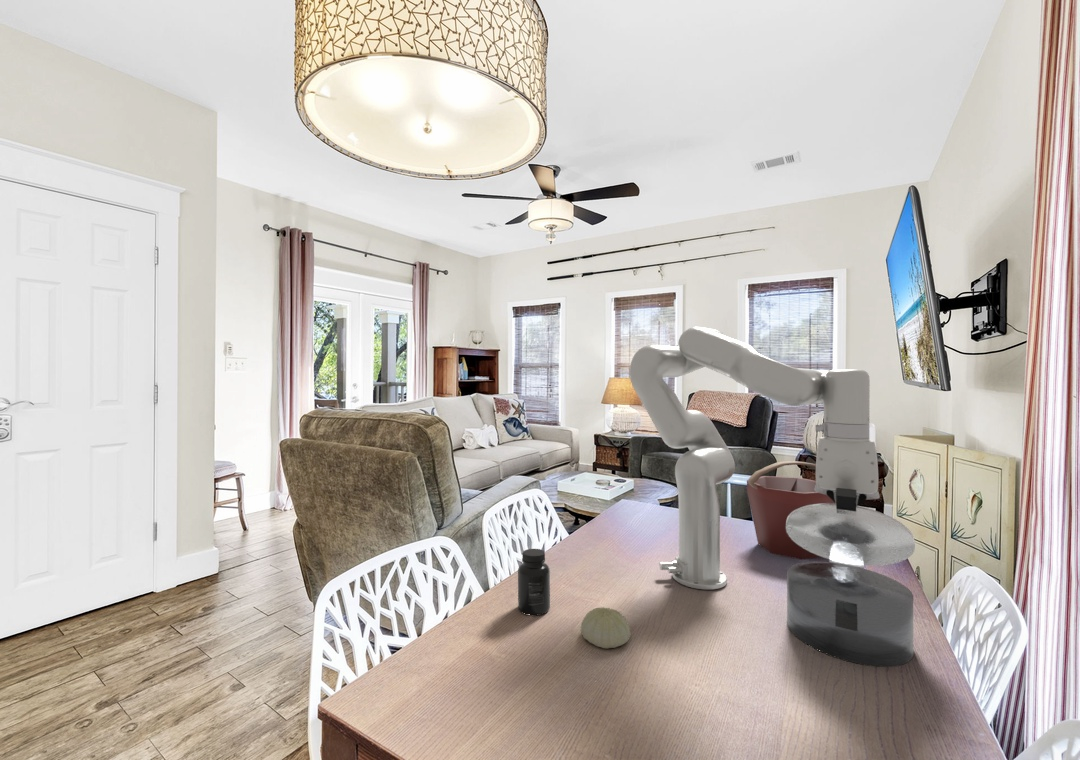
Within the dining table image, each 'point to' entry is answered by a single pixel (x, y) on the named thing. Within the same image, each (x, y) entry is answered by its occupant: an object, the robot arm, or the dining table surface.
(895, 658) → the cooker pot
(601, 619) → the sea urchin shell
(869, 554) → the cooker lid
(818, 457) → the robot arm
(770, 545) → the bucket
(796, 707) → the dining table surface
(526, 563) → the supplement bottle
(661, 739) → the dining table surface
